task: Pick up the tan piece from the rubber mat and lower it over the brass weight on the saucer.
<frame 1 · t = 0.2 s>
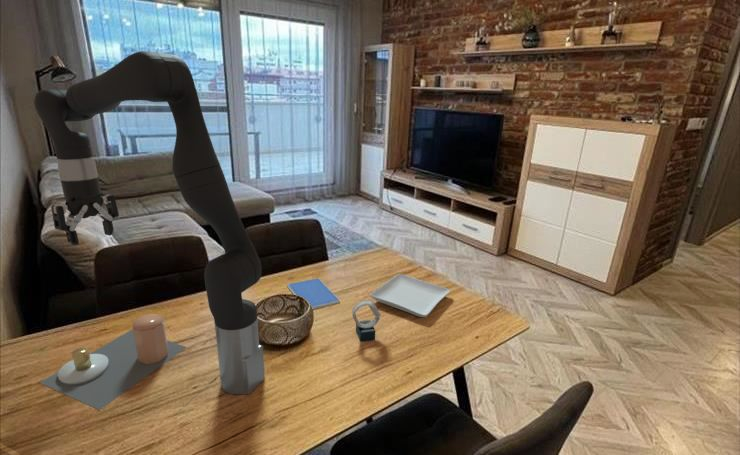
hand: (92, 239, 101), 29 cm above the table, fingers open, 8 cm apart
rubber mat: (118, 365, 99), on the table
tan piece: (153, 355, 102), point 1 cm above the table, touching rubber mat
salad plate: (410, 300, 136), on the table
saucer: (84, 370, 96), resting on rubber mat
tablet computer: (312, 295, 137), on the table
brass weight: (83, 366, 95), point 2 cm above the table, touching saucer
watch: (365, 336, 115), on the table
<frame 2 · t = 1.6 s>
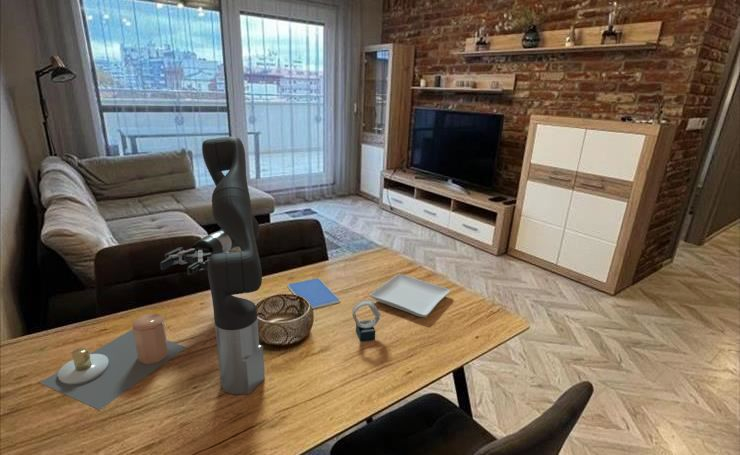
hand: (174, 269, 105), 20 cm above the table, fingers open, 8 cm apart
nothing on the table moved.
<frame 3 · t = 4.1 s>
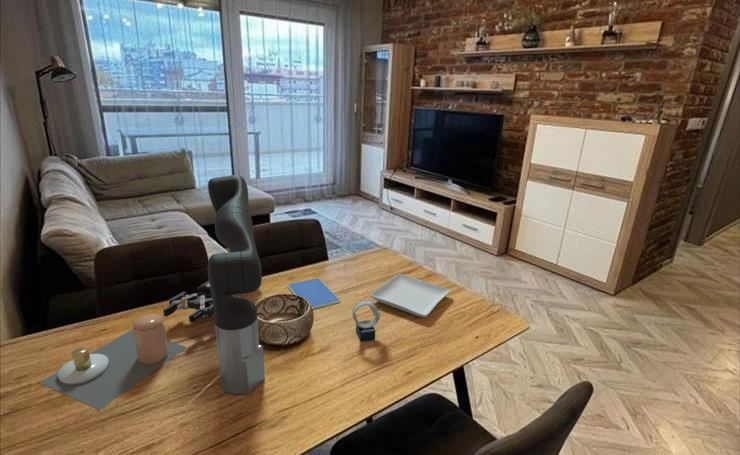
hand: (177, 316, 108), 7 cm above the table, fingers open, 8 cm apart
nothing on the table moved.
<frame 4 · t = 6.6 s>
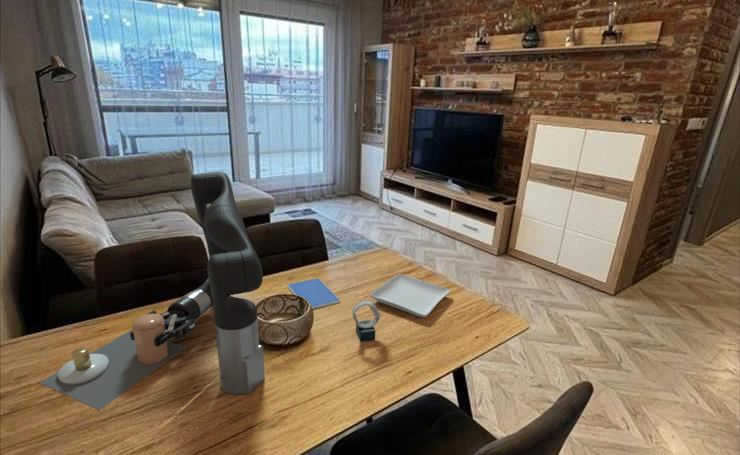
hand: (143, 340, 98), 7 cm above the table, fingers closed on tan piece, 7 cm apart
tan piece: (153, 355, 102), point 1 cm above the table, touching gripper, rubber mat
everything else where it was.
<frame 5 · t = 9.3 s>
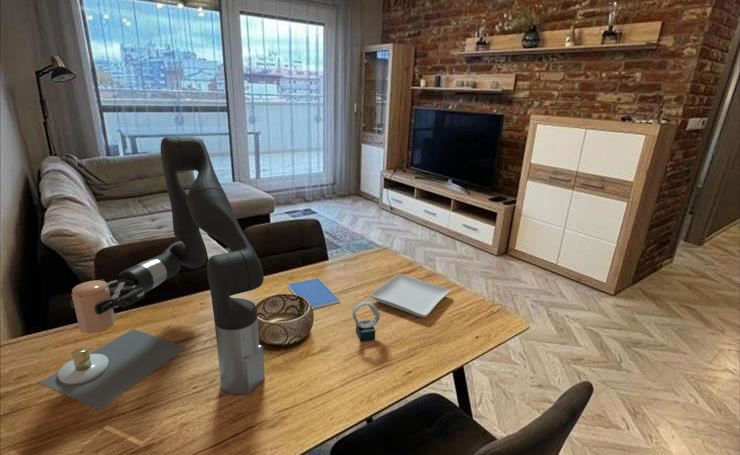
hand: (84, 307, 90), 18 cm above the table, fingers closed on tan piece, 7 cm apart
tan piece: (98, 325, 94), point 12 cm above the table, touching gripper
everything else where it was.
when the fingers open (9 cm above the table, at t = 12.1 s): tan piece drops 1 cm, resting on saucer.
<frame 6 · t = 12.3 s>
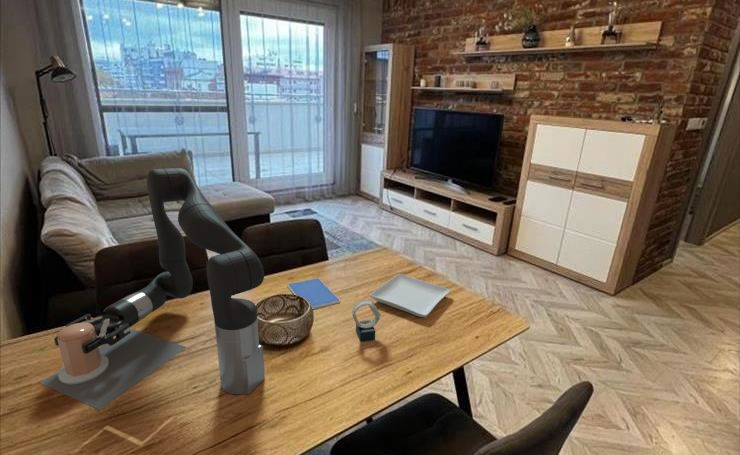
hand: (69, 346, 91), 9 cm above the table, fingers open, 8 cm apart
tan piece: (84, 366, 95), point 2 cm above the table, touching saucer
everything else where it was.
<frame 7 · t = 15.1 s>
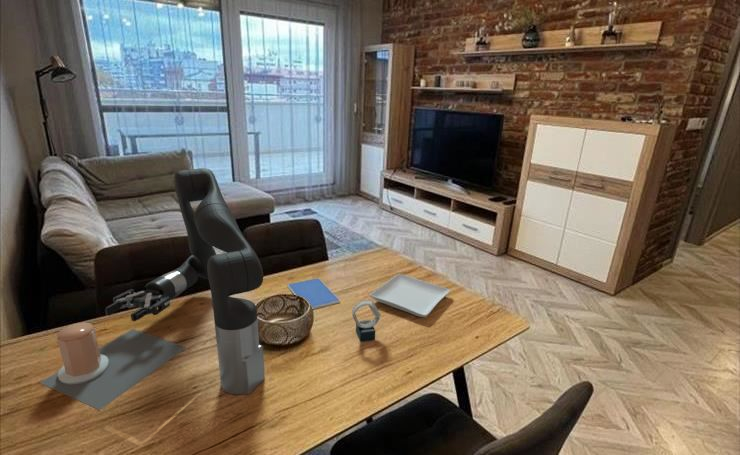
hand: (119, 315, 103), 9 cm above the table, fingers open, 8 cm apart
nothing on the table moved.
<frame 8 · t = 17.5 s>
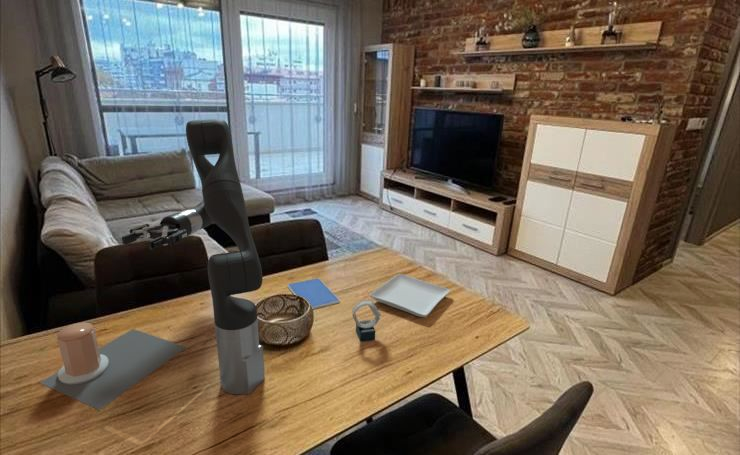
hand: (136, 243, 101), 28 cm above the table, fingers open, 8 cm apart
nothing on the table moved.
at the end: tan piece 0.1 cm from the brass weight (horizontally); tan piece point 1.6 cm above the table; tan piece tilted 0° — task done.
